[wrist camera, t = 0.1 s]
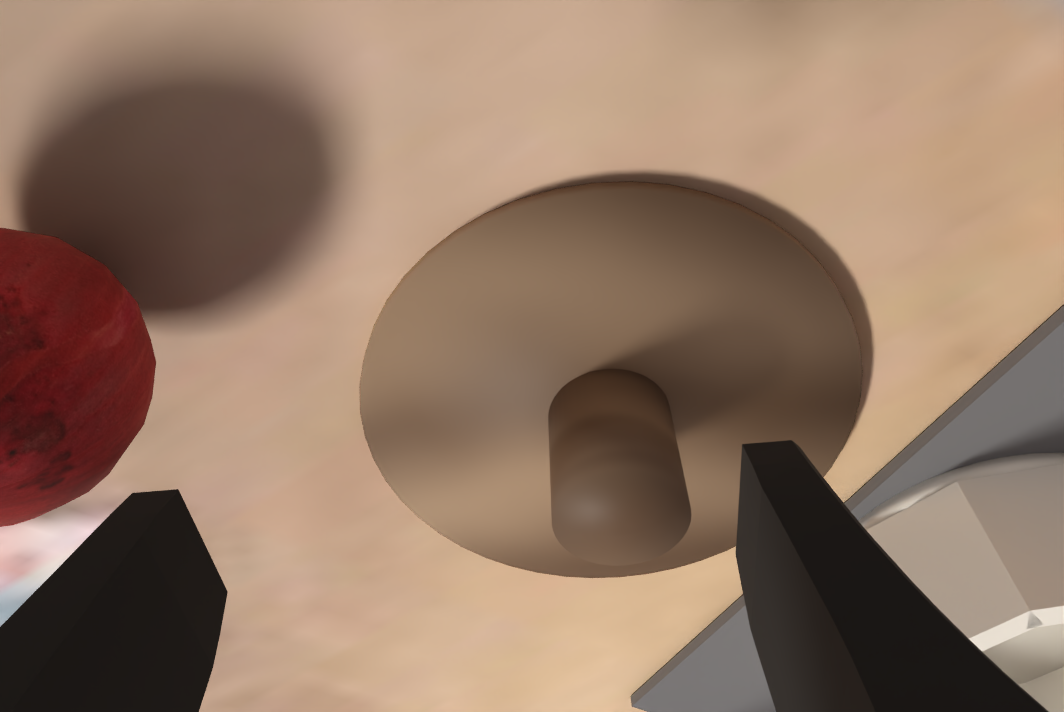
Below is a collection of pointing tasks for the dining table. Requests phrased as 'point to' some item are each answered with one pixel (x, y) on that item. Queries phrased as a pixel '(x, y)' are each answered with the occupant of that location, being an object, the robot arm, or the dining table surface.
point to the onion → (64, 373)
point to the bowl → (990, 560)
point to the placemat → (949, 443)
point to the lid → (604, 376)
